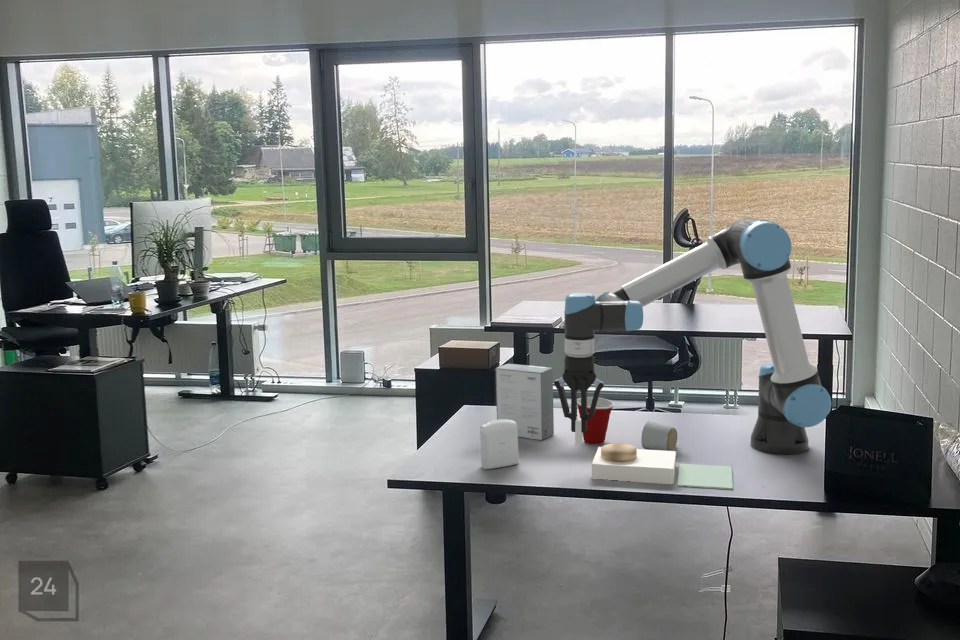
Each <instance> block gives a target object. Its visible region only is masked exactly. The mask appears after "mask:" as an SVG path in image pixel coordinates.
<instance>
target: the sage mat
mask: <svg viewBox="0 0 960 640" xmlns="http://www.w3.org/2000/svg"><path fill="white" fill-rule="evenodd" d="M678 467H679V468H678V477H677V485H676V486H677V487H683V486H687V487H688V488H698V489H699V488H701V489H703V488H704V489H717V490H729V491H730V490H733V489H734V487H733V485H734V483H733V468H732V466H731V465H729V466H728V465H711V464H710V465H709V464H693V463H679V466H678ZM687 487H686V488H687Z"/></svg>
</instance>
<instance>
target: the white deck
mask: <svg viewBox="0 0 960 640" xmlns="http://www.w3.org/2000/svg"><path fill="white" fill-rule="evenodd" d="M601 447H602V446H598V447H597V450H596V453H595V455H594V457H593V460H592V463H591V480H596V479H608V480H607V481H611V480H618V481H617V482H627V481H630V482H629V483H645V484H646V483H647V484H658V485H659V484H662V485H674V482H675V477H676V476H675V474H676V468H675V467H677V466H676V464H677V463H676V462H677V451H675V450H673V451H663V450H648V449H644V448H643V449H642V448H640V449H639V448H636V449H637V458H636V459H635V460H633V461H629V462H611V461H607V460H604V459H603V458H602V457H601Z"/></svg>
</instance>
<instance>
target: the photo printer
mask: <svg viewBox="0 0 960 640" xmlns="http://www.w3.org/2000/svg"><path fill="white" fill-rule="evenodd" d="M479 431H480V432H479V433H480V434H479V435H480V436H479V437H480V461H481V462H480V463H481V465H480V466H481V468H482V469H483V470H491V469H497V468H503V467H510V466H515V465H518V464H519V437H518V428H517V424H516V422H514V421H513V420H507V419H500V420H497V419H494V420H491V421H488V422H485V423H483V424H482V425H480V429H479Z"/></svg>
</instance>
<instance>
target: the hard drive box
mask: <svg viewBox="0 0 960 640" xmlns="http://www.w3.org/2000/svg"><path fill="white" fill-rule="evenodd" d="M553 372H554V369H553V367H550V366H549V367H548V366H539V365H538V366H536V365H528V364H517V363H505V364H502V365H500V366H498V367H495V393H496V395H495V396H496V397H495V399H496V400H495V401H496V420H500V419H507V420H513V421H514V422H516V424H517V428H518V438H519V437H520V438H525V439H526V438H527V439H530V440H539V441H542V440H545V439H547V438H548V437H550V436H553V435H554V434H555V425H554V424H555V423H554V421H555V420H554V418H555V417H554V377H553V374H554V373H553Z"/></svg>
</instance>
